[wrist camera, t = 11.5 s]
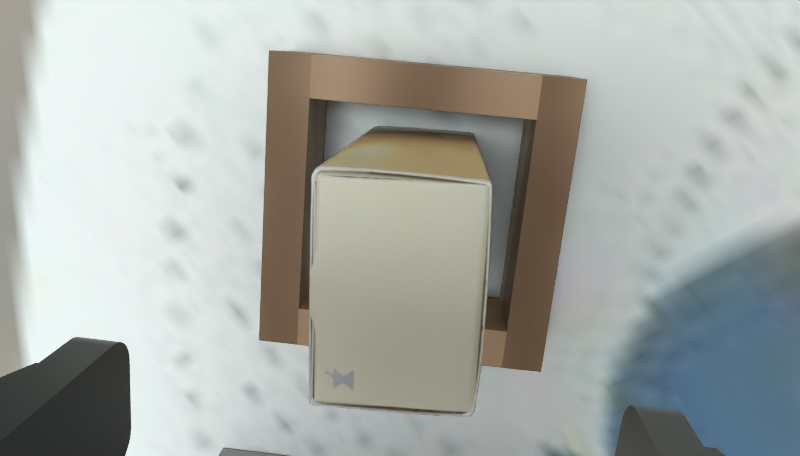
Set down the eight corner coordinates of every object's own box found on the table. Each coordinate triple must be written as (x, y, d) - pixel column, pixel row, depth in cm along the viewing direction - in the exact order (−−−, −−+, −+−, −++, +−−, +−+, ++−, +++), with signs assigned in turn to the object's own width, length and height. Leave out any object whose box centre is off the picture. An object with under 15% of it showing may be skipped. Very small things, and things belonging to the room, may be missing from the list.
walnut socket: (568, 76, 26) (587, 79, 22) (529, 334, 28) (540, 371, 25) (292, 51, 26) (269, 50, 23) (281, 307, 29) (259, 340, 26)
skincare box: (465, 274, 28) (477, 433, 16) (364, 267, 28) (305, 419, 16) (477, 123, 26) (500, 178, 15) (370, 117, 27) (307, 166, 15)
